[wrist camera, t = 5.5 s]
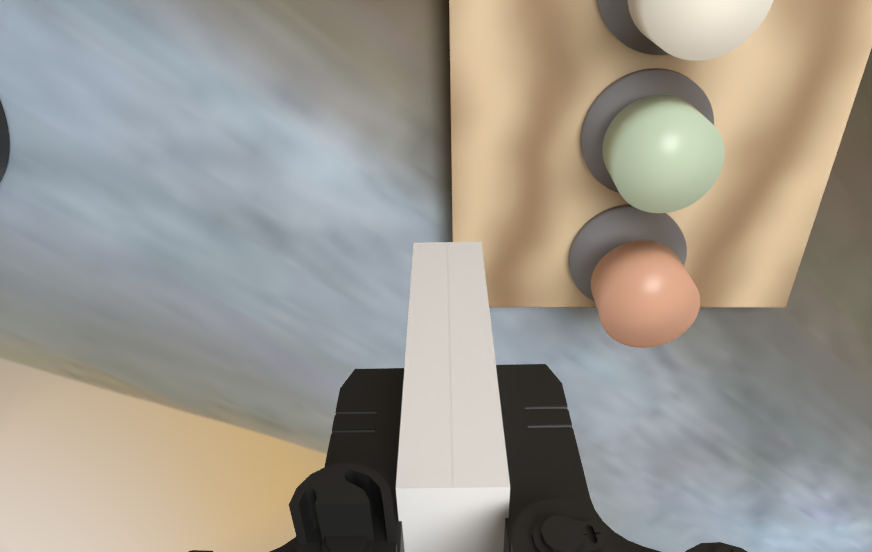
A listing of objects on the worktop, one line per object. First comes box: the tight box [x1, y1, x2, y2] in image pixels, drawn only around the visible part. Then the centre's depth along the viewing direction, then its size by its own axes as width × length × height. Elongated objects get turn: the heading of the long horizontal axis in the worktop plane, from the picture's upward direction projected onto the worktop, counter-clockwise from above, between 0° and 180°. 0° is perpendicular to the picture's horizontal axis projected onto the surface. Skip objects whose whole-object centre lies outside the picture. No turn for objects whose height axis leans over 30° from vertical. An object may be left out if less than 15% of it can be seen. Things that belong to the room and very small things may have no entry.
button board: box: [449, 0, 872, 307], centre depth 35 cm, size 22×24×3 cm
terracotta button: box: [591, 240, 700, 348], centre depth 35 cm, size 5×5×3 cm
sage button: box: [602, 94, 725, 213], centre depth 32 cm, size 5×5×3 cm
